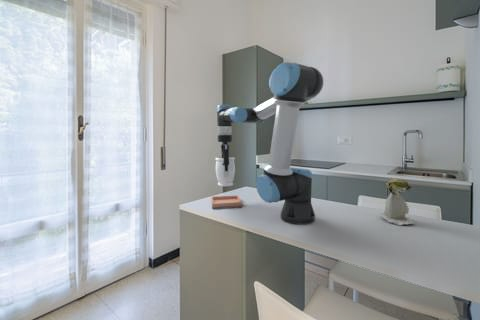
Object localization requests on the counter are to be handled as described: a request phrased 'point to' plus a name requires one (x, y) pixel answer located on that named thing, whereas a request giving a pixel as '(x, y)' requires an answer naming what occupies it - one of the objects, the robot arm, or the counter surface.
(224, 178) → the jar
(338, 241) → the counter surface
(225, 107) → the robot arm
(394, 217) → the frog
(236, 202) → the tray
